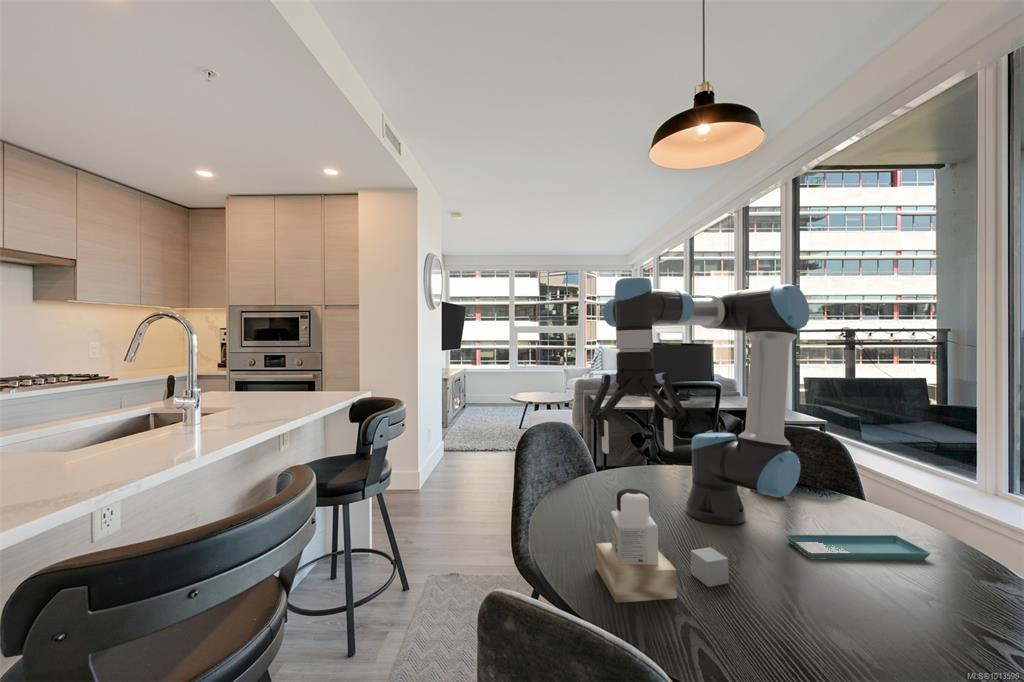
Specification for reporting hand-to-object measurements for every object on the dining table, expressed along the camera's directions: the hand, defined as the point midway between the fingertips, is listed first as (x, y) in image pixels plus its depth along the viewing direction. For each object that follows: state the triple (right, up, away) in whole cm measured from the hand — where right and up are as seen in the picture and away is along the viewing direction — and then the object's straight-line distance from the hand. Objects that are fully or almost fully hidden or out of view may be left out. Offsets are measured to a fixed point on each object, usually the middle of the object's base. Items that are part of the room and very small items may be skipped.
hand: (637, 451), depth 87 cm
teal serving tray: (+54, -27, +9) cm, 60 cm away
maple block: (-2, -27, -3) cm, 27 cm away
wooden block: (+56, -27, +46) cm, 78 cm away
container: (-1, -21, -3) cm, 21 cm away
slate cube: (+15, -26, -2) cm, 30 cm away
